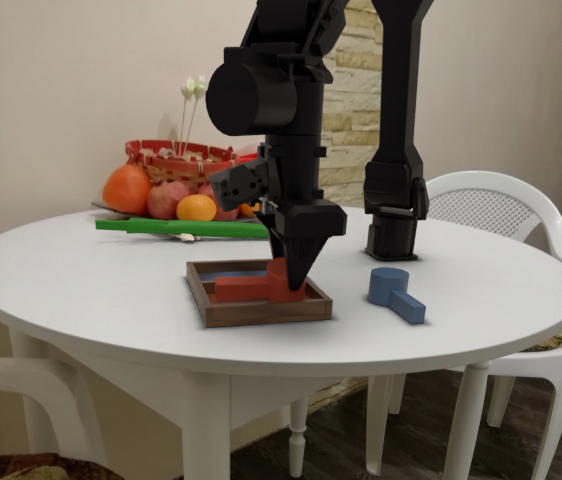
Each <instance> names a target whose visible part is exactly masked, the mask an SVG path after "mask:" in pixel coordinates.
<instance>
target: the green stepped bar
mask: <svg viewBox="0 0 562 480" xmlns="http://www.w3.org/2000/svg"><path fill="white" fill-rule="evenodd" d="M94 223H95V230H99V231H100V230H101V231H118V232H119V231H120V232H126V234H127V235H128V234H167V235H168V236H172V237H175V238H177V239H180V240H181V241H183V242H187V241H195V239H196V241H201V239H202V237H203V238H204V237H205V238H207V237H208V238H233V239H236V238H237V239H268V235H267V230H266V228H265V226H264V225H263V224H262V223H251V222H238V221H237V222H236V221H218V220H217V221H216V220H215V221H214V220H194V219H193V220H190V219H189V220H188V219H186V220H185V219H183V220H182V219H174V220H173V219H170V220H169V219H168V220H164V219H154V218H141V217H129V219H128V220H111V219H110V220H109V219H108V220H107V219H104V220H103V219H95V220H94Z"/></svg>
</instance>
